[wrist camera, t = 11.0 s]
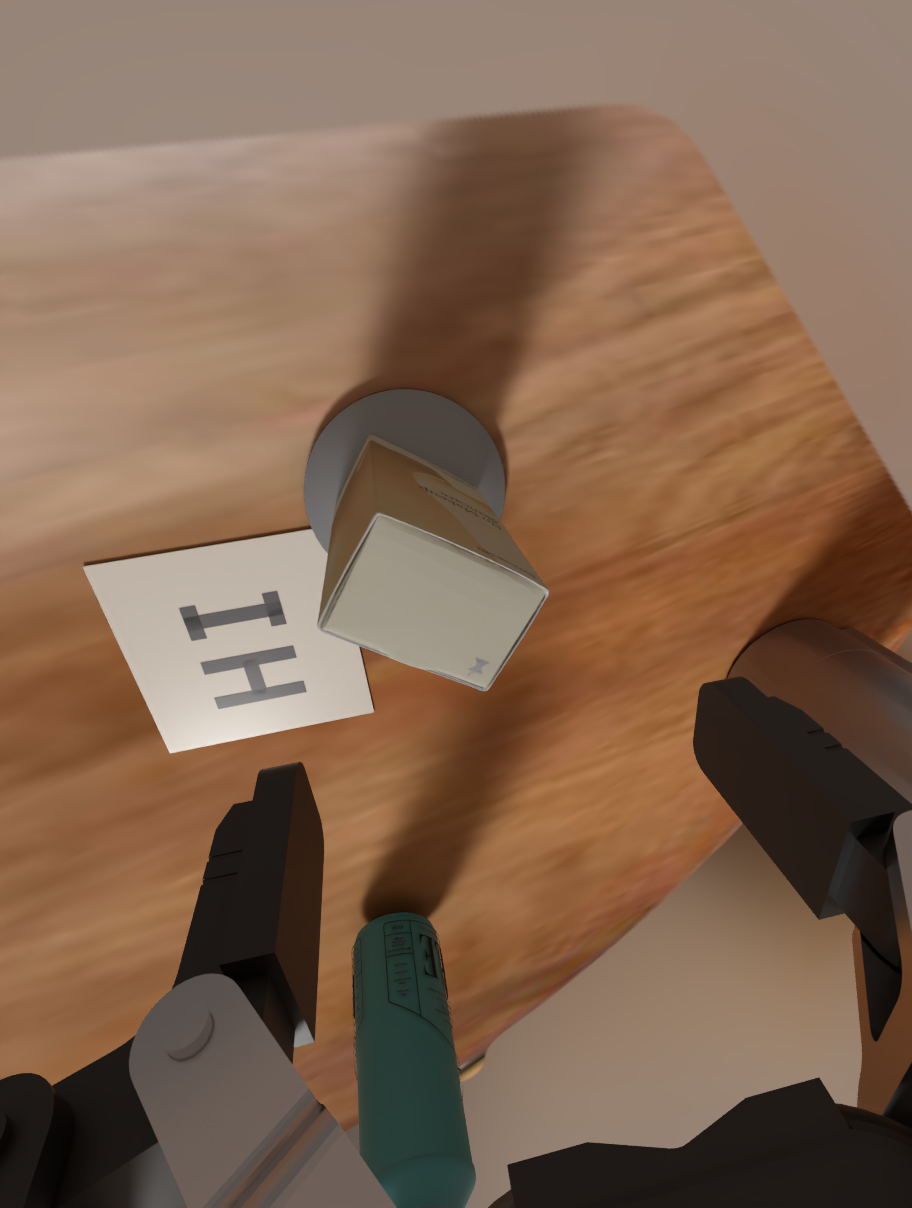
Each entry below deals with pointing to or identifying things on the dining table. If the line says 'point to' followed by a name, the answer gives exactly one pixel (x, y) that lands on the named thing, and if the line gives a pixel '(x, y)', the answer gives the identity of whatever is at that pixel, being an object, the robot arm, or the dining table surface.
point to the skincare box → (425, 570)
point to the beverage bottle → (408, 1067)
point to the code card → (231, 639)
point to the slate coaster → (410, 425)
